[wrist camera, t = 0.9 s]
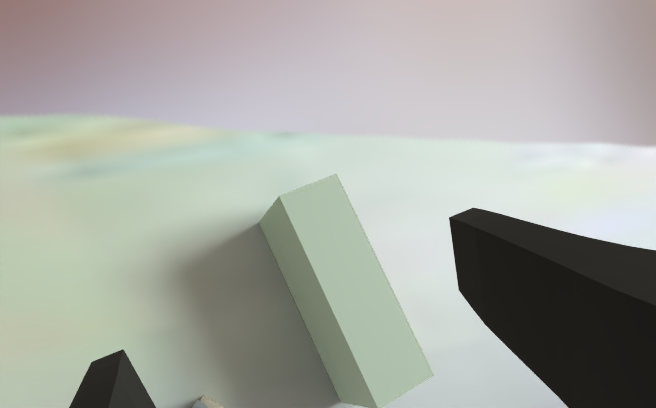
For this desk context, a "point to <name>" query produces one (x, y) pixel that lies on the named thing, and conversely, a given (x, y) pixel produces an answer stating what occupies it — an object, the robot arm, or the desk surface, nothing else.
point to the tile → (206, 403)
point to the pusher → (344, 295)
